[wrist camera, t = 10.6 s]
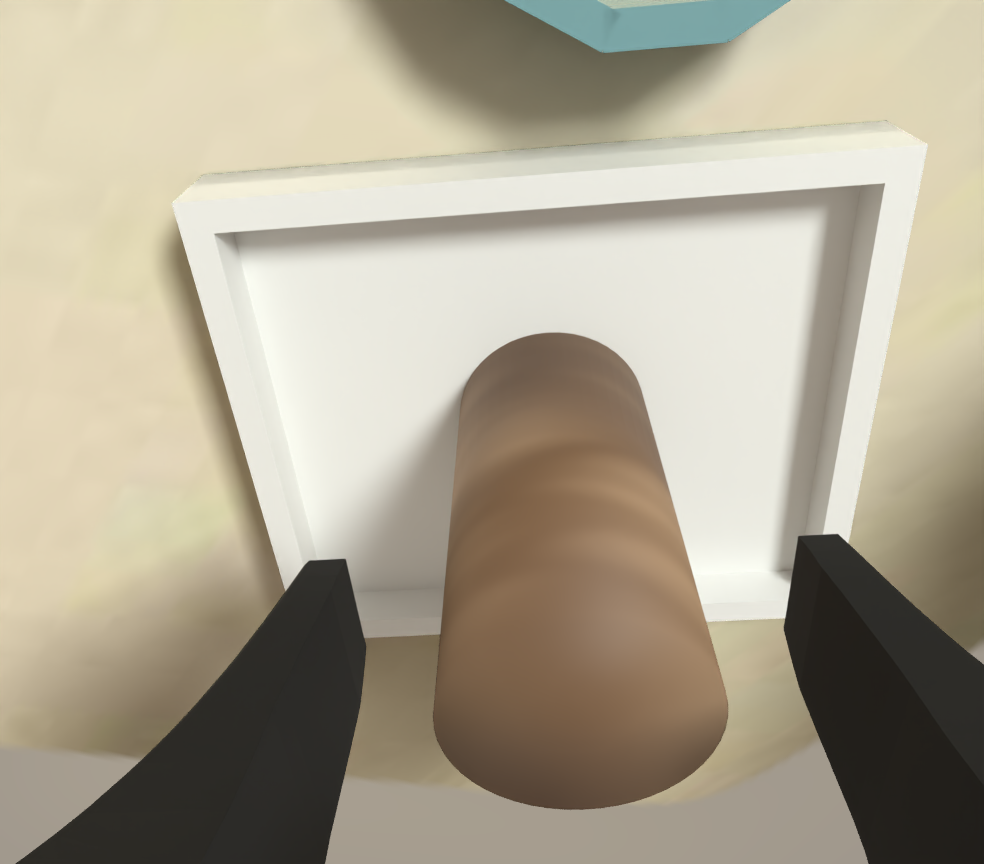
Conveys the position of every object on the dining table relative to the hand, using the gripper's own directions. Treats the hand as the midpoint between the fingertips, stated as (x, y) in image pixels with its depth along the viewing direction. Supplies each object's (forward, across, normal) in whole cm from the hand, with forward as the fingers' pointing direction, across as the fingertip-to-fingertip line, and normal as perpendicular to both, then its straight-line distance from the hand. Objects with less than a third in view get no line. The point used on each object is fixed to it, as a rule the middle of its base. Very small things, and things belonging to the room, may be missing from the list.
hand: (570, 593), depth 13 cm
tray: (+6, 0, 0) cm, 6 cm away
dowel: (+6, 0, 0) cm, 6 cm away
